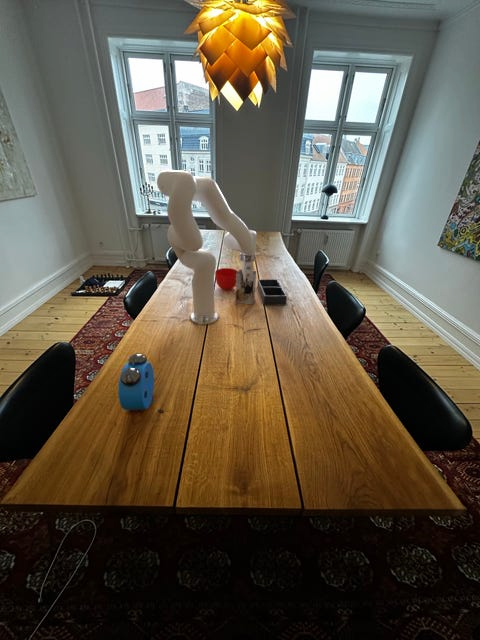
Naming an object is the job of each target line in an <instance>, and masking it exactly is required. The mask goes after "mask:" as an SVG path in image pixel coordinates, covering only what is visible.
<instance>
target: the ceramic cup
mask: <svg viewBox="0 0 480 640" xmlns="http://www.w3.org/2000/svg"><path fill="white" fill-rule="evenodd" d="M238 271H239V270H237V269H235V268H228V267H223V268H218V269H215V273H214V278H215V281H216V284H217V286H218V287H219V289H220V290H222V291H231V290H233V289H234V288H236V273H237V272H238Z"/></svg>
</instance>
